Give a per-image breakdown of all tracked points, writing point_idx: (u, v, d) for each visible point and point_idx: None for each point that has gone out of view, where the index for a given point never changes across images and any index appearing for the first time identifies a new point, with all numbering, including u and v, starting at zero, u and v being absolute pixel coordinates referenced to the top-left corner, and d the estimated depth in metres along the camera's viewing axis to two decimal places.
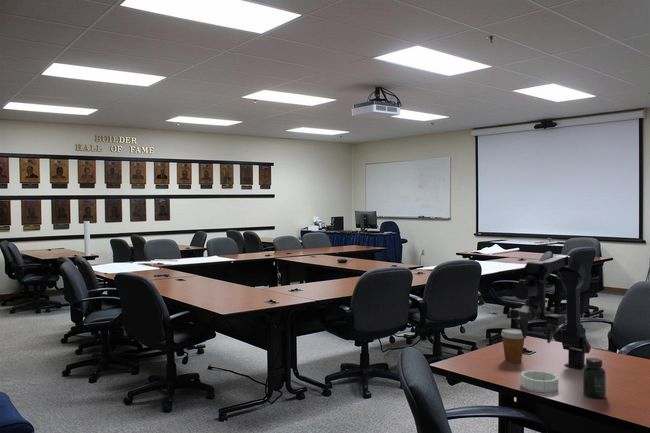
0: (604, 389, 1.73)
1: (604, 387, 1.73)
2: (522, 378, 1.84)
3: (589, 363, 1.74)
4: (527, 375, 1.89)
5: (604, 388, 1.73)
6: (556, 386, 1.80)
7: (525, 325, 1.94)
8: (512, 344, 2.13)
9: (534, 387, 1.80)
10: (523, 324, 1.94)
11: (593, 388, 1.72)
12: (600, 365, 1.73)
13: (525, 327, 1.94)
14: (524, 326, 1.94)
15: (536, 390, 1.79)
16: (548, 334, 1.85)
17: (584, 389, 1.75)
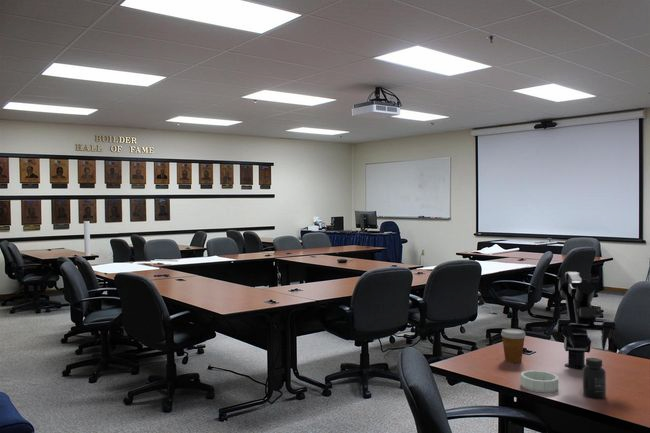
0: (604, 389, 1.73)
1: (604, 387, 1.73)
2: (522, 378, 1.84)
3: (589, 363, 1.74)
4: (527, 375, 1.89)
5: (604, 388, 1.73)
6: (556, 386, 1.80)
7: None
8: (512, 344, 2.13)
9: (534, 387, 1.80)
10: None
11: (593, 388, 1.72)
12: (600, 365, 1.73)
13: None
14: None
15: (536, 390, 1.79)
16: (604, 339, 1.83)
17: (584, 389, 1.75)
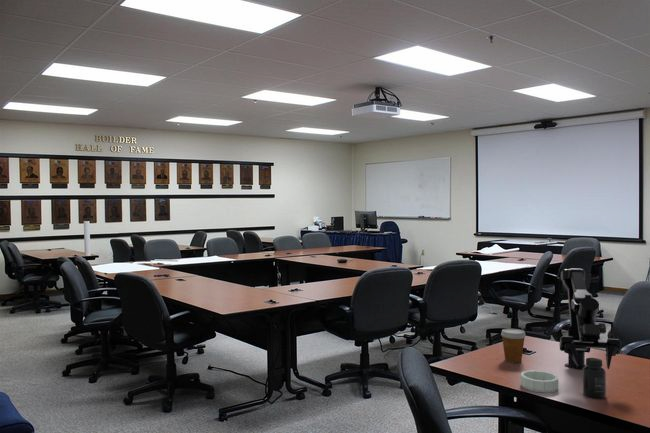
0: (604, 389, 1.73)
1: (604, 387, 1.73)
2: (522, 378, 1.84)
3: (589, 363, 1.74)
4: (527, 375, 1.89)
5: (604, 388, 1.73)
6: (556, 386, 1.80)
7: None
8: (512, 344, 2.13)
9: (534, 387, 1.80)
10: None
11: (593, 388, 1.72)
12: (600, 365, 1.73)
13: None
14: None
15: (536, 390, 1.79)
16: (609, 357, 1.77)
17: (584, 389, 1.75)
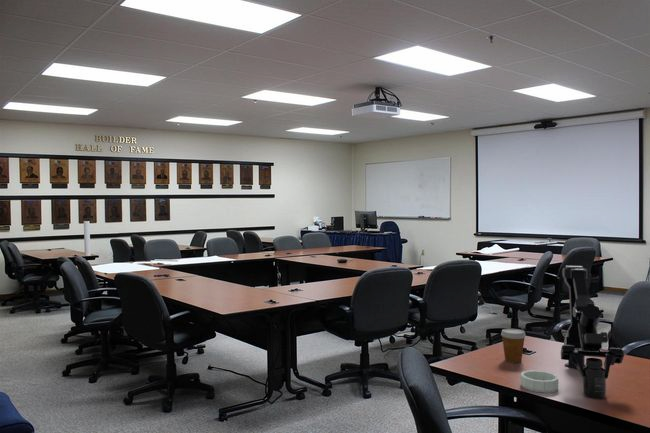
0: (604, 389, 1.73)
1: (604, 387, 1.73)
2: (522, 378, 1.84)
3: (589, 363, 1.74)
4: (527, 375, 1.89)
5: (604, 388, 1.73)
6: (556, 386, 1.80)
7: None
8: (512, 344, 2.13)
9: (534, 387, 1.80)
10: None
11: (593, 388, 1.72)
12: (600, 365, 1.73)
13: None
14: None
15: (536, 390, 1.79)
16: (607, 367, 1.74)
17: (584, 389, 1.75)
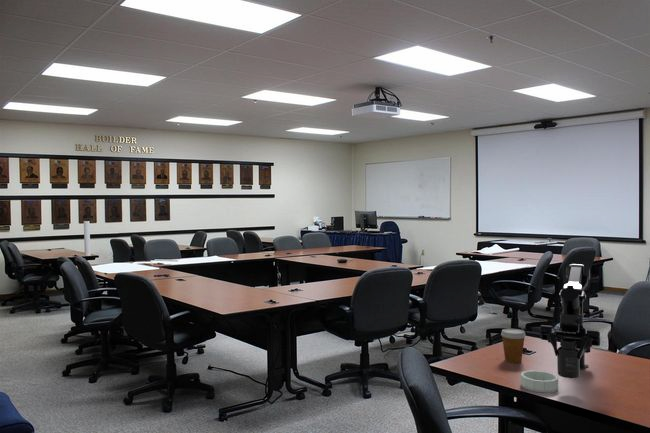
0: (576, 369, 1.75)
1: (576, 367, 1.75)
2: (522, 378, 1.84)
3: (562, 343, 1.78)
4: (527, 375, 1.89)
5: (576, 368, 1.75)
6: (556, 386, 1.80)
7: None
8: (512, 344, 2.13)
9: (534, 387, 1.80)
10: (556, 341, 1.82)
11: (564, 367, 1.76)
12: (572, 345, 1.76)
13: (556, 346, 1.82)
14: (556, 344, 1.82)
15: (536, 390, 1.79)
16: (581, 348, 1.77)
17: (557, 368, 1.79)
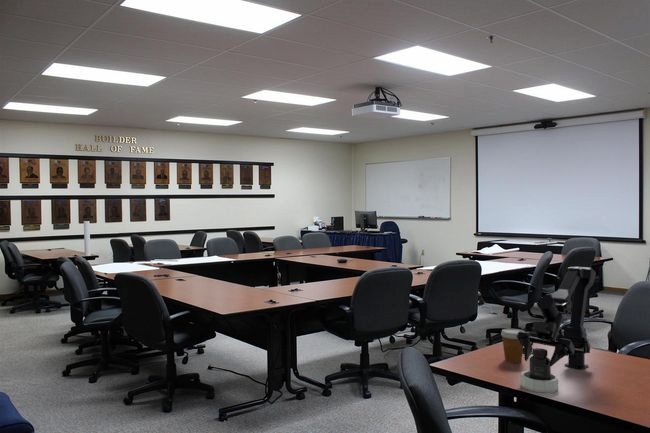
0: (544, 378, 1.81)
1: (544, 376, 1.81)
2: (522, 378, 1.84)
3: (533, 352, 1.85)
4: (527, 375, 1.89)
5: (545, 377, 1.81)
6: (556, 386, 1.80)
7: (529, 350, 1.89)
8: (512, 344, 2.13)
9: (534, 387, 1.80)
10: (528, 347, 1.89)
11: (533, 375, 1.83)
12: (542, 355, 1.82)
13: (529, 352, 1.89)
14: (528, 350, 1.89)
15: (536, 390, 1.79)
16: (553, 356, 1.81)
17: None
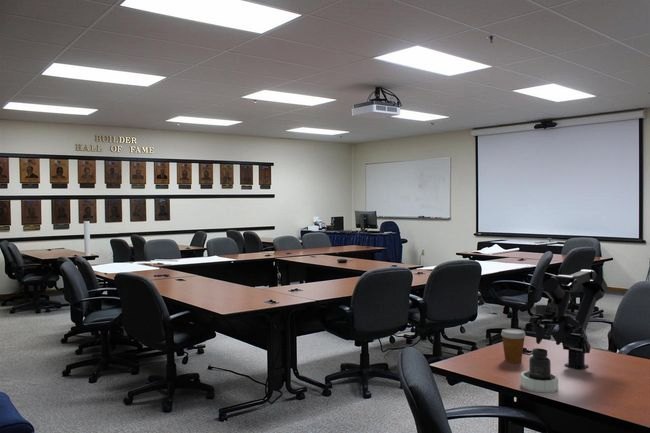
0: (544, 378, 1.81)
1: (544, 376, 1.81)
2: (522, 378, 1.84)
3: (533, 352, 1.84)
4: (527, 375, 1.89)
5: (545, 378, 1.81)
6: (556, 386, 1.80)
7: (541, 333, 1.99)
8: (512, 344, 2.13)
9: (534, 387, 1.80)
10: (539, 330, 1.99)
11: (533, 376, 1.83)
12: (542, 355, 1.82)
13: (541, 334, 1.98)
14: (540, 333, 1.98)
15: (536, 390, 1.79)
16: (558, 334, 1.89)
17: None
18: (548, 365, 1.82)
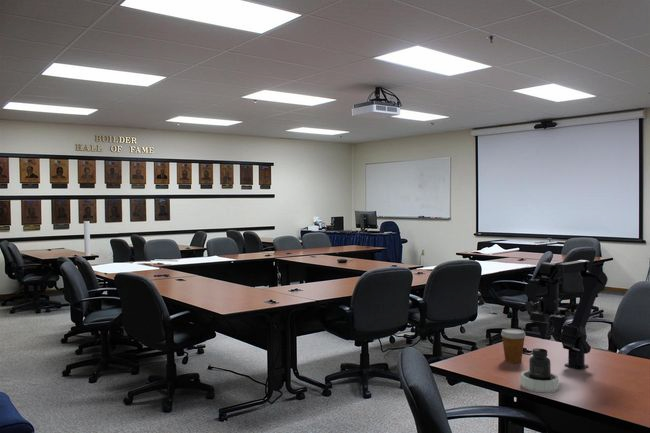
0: (544, 378, 1.81)
1: (544, 376, 1.81)
2: (522, 378, 1.84)
3: (533, 352, 1.84)
4: (527, 375, 1.89)
5: (545, 378, 1.81)
6: (556, 386, 1.80)
7: (558, 324, 2.04)
8: (512, 344, 2.13)
9: (534, 387, 1.80)
10: (555, 322, 2.05)
11: (533, 376, 1.83)
12: (542, 355, 1.82)
13: (557, 325, 2.04)
14: (556, 324, 2.04)
15: (536, 390, 1.79)
16: None
17: None
18: (548, 365, 1.82)
